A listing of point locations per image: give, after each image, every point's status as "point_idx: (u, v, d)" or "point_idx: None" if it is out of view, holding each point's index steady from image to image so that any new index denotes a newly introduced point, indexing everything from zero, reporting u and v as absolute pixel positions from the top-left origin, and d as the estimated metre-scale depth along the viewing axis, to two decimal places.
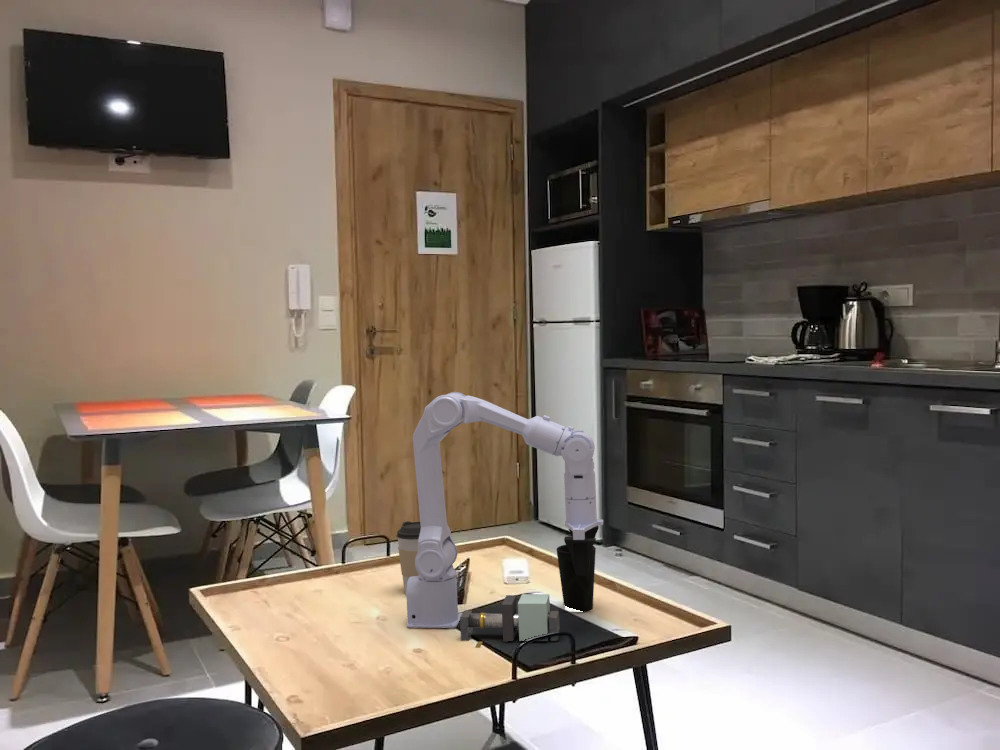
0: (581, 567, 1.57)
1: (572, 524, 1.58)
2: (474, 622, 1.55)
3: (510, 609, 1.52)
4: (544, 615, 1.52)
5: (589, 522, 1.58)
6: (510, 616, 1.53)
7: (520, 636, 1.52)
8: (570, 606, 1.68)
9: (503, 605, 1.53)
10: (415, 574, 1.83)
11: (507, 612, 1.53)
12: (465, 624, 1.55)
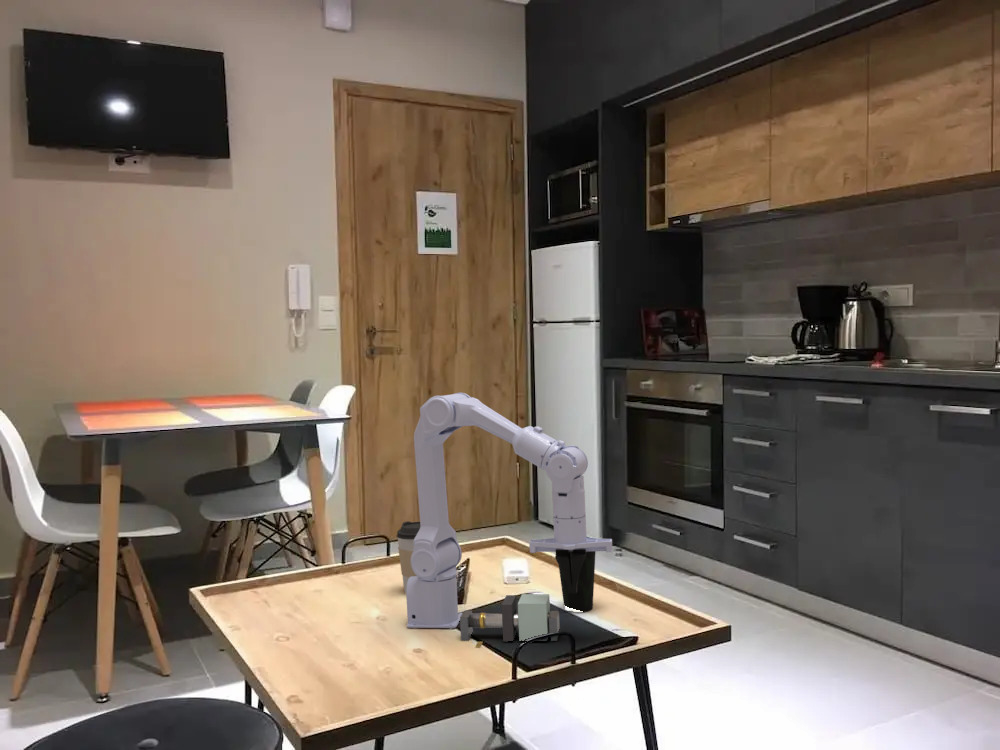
0: None
1: None
2: (474, 622, 1.55)
3: (510, 609, 1.52)
4: (544, 615, 1.52)
5: (556, 541, 1.52)
6: (510, 616, 1.53)
7: (520, 636, 1.52)
8: (570, 606, 1.68)
9: (503, 605, 1.53)
10: (415, 574, 1.83)
11: (507, 612, 1.53)
12: (465, 624, 1.55)
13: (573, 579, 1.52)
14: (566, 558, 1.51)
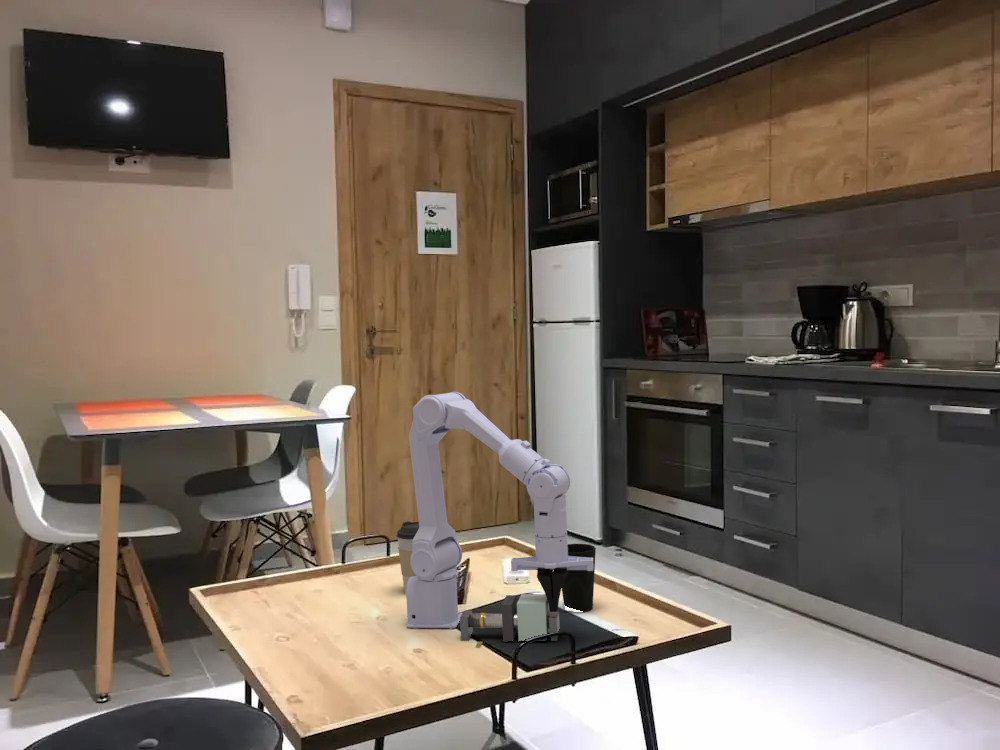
0: None
1: None
2: (474, 622, 1.55)
3: (510, 609, 1.52)
4: (543, 615, 1.52)
5: (537, 560, 1.53)
6: (510, 616, 1.53)
7: (519, 636, 1.52)
8: (570, 606, 1.68)
9: (503, 605, 1.53)
10: None
11: (507, 612, 1.53)
12: (465, 624, 1.55)
13: (554, 598, 1.52)
14: (547, 577, 1.51)
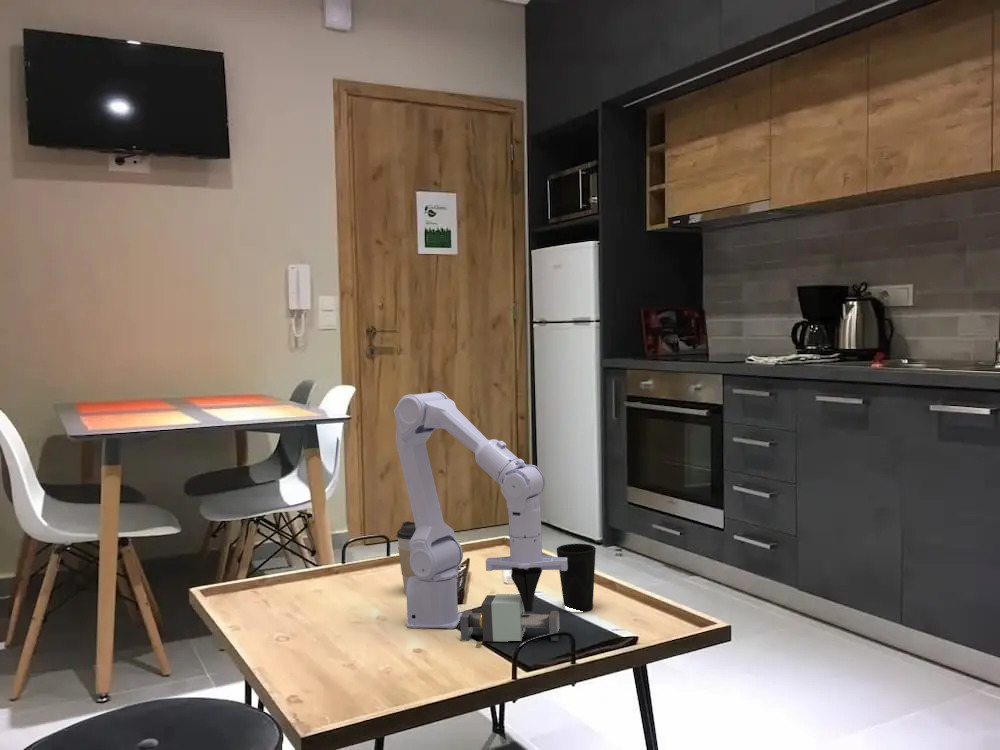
0: None
1: None
2: (474, 622, 1.55)
3: (490, 609, 1.53)
4: (517, 615, 1.52)
5: (511, 560, 1.53)
6: (490, 616, 1.53)
7: (494, 636, 1.53)
8: (570, 606, 1.68)
9: (483, 605, 1.53)
10: None
11: (487, 612, 1.53)
12: (465, 624, 1.55)
13: (528, 597, 1.53)
14: (521, 577, 1.52)
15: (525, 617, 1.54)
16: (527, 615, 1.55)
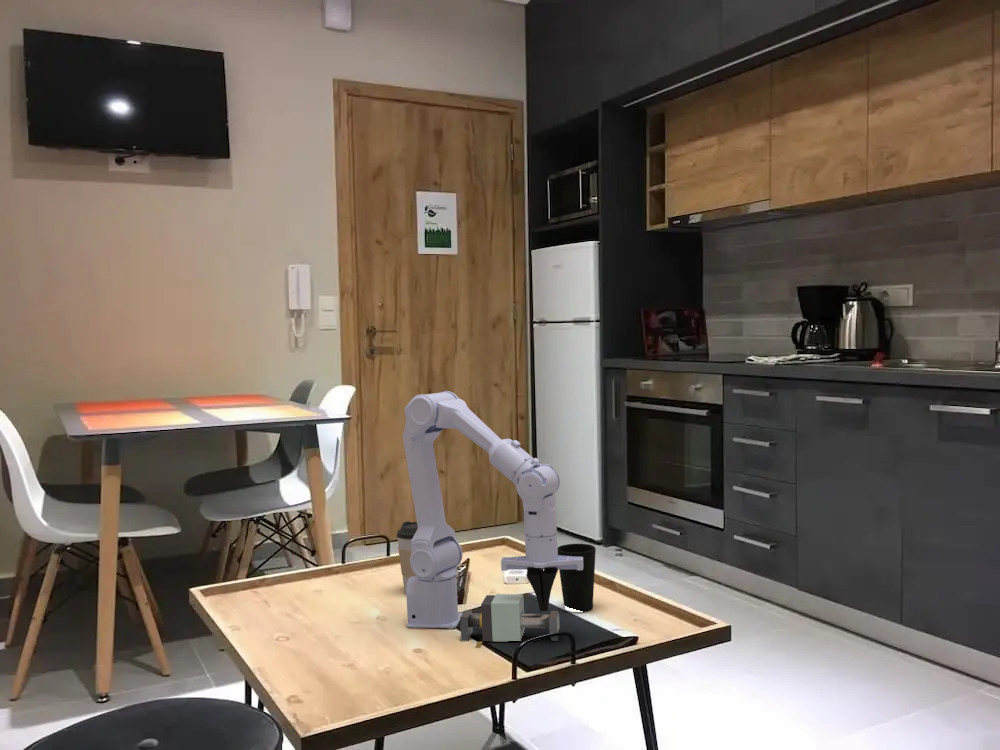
0: None
1: None
2: (474, 622, 1.55)
3: (489, 609, 1.53)
4: (517, 615, 1.52)
5: (527, 559, 1.53)
6: (489, 616, 1.53)
7: (493, 636, 1.53)
8: (570, 606, 1.68)
9: (482, 605, 1.53)
10: None
11: (486, 612, 1.53)
12: (465, 624, 1.55)
13: (544, 597, 1.53)
14: (537, 576, 1.51)
15: (525, 617, 1.54)
16: (527, 615, 1.55)
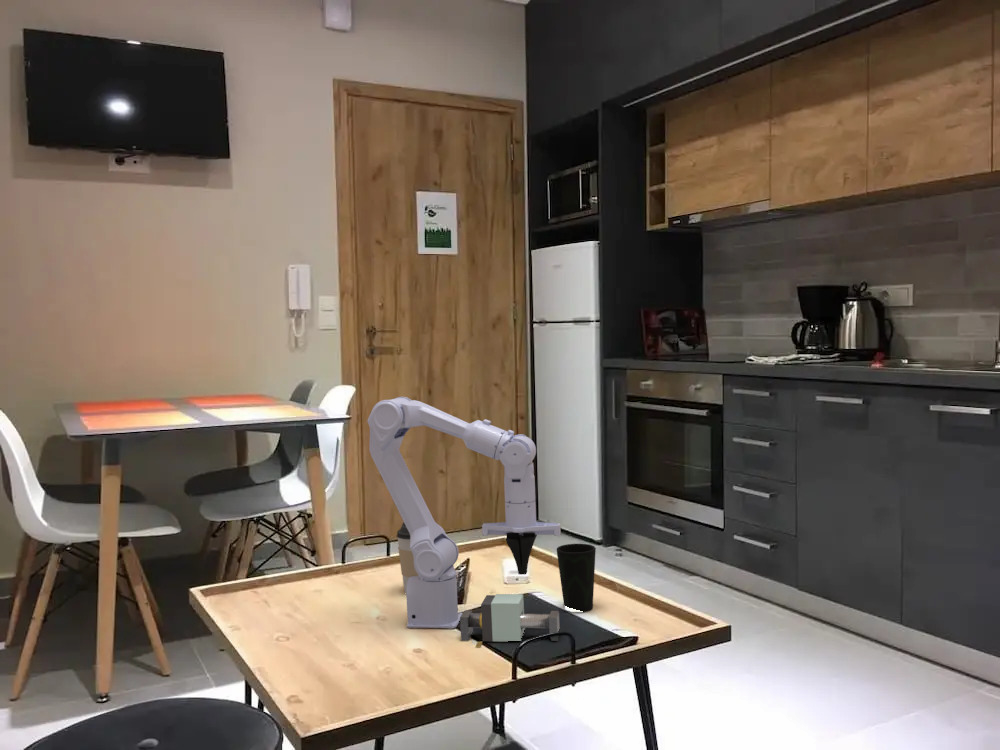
0: None
1: None
2: (474, 622, 1.55)
3: (489, 609, 1.53)
4: (517, 615, 1.52)
5: (507, 525, 1.60)
6: (489, 616, 1.53)
7: (493, 636, 1.53)
8: (570, 606, 1.68)
9: (482, 605, 1.53)
10: (415, 574, 1.83)
11: (486, 612, 1.53)
12: (465, 624, 1.55)
13: (523, 561, 1.60)
14: (516, 541, 1.59)
15: (525, 617, 1.54)
16: (527, 615, 1.55)
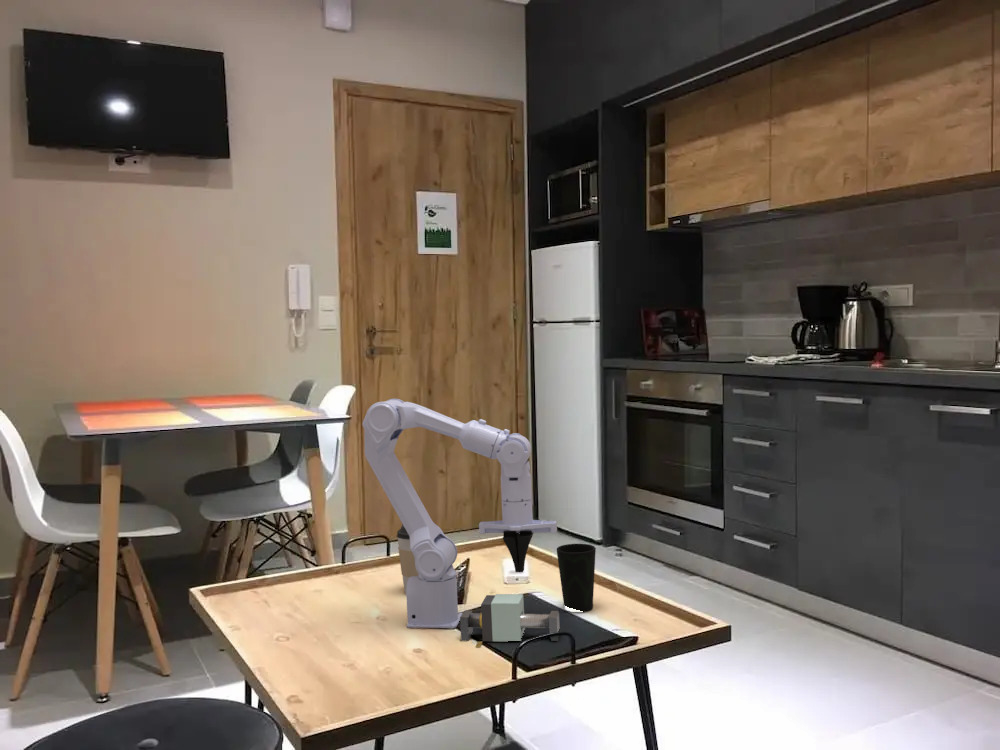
0: None
1: None
2: (474, 622, 1.55)
3: (489, 609, 1.53)
4: (517, 615, 1.52)
5: (503, 523, 1.61)
6: (489, 616, 1.53)
7: (493, 636, 1.53)
8: (570, 606, 1.68)
9: (482, 605, 1.53)
10: (415, 574, 1.83)
11: (486, 612, 1.53)
12: (465, 624, 1.55)
13: (519, 559, 1.61)
14: (513, 539, 1.60)
15: (525, 617, 1.54)
16: (527, 615, 1.55)
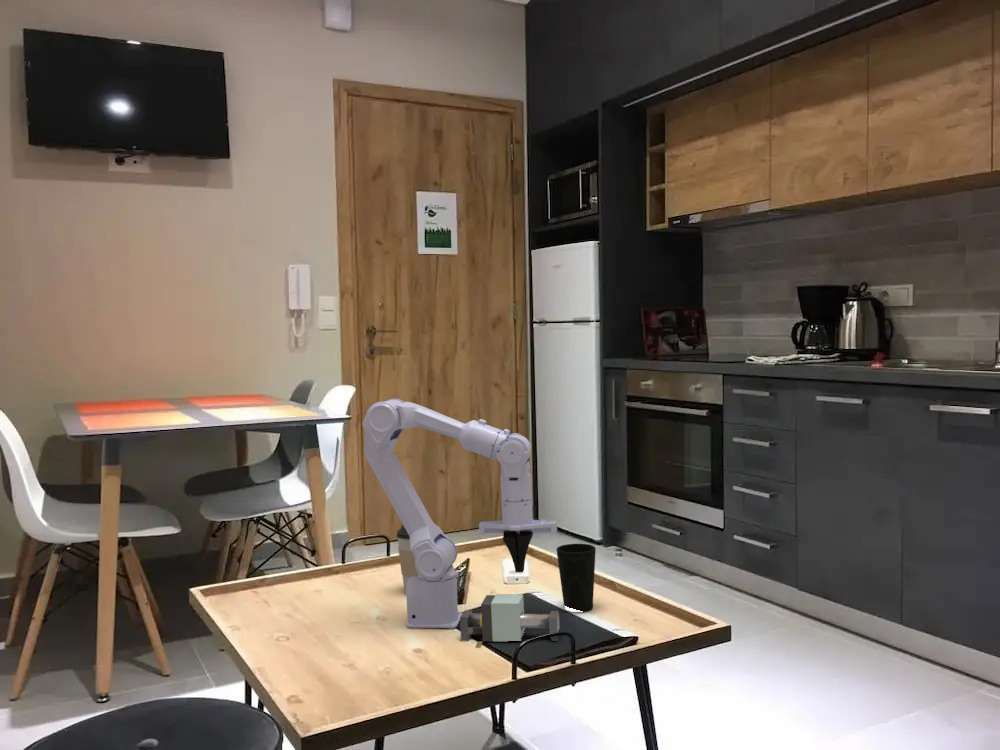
0: None
1: None
2: (474, 622, 1.55)
3: (489, 609, 1.53)
4: (517, 615, 1.52)
5: (503, 523, 1.61)
6: (489, 616, 1.53)
7: (493, 636, 1.53)
8: (570, 606, 1.68)
9: (482, 605, 1.53)
10: (415, 574, 1.83)
11: (486, 612, 1.53)
12: (465, 624, 1.55)
13: (519, 559, 1.61)
14: (513, 539, 1.60)
15: (525, 617, 1.54)
16: (527, 615, 1.55)
